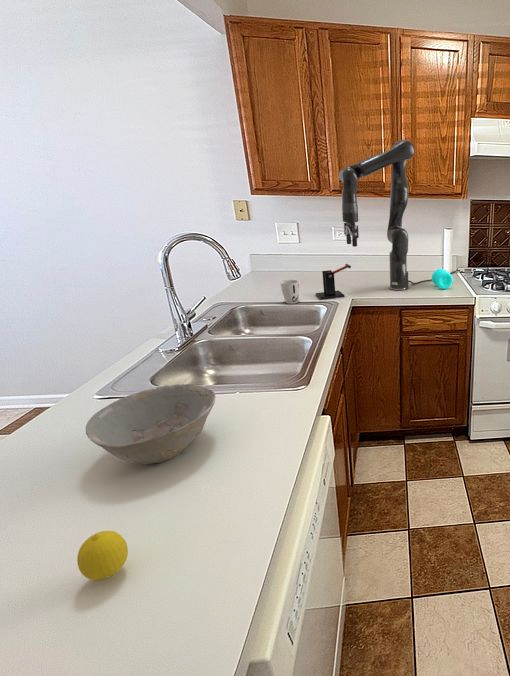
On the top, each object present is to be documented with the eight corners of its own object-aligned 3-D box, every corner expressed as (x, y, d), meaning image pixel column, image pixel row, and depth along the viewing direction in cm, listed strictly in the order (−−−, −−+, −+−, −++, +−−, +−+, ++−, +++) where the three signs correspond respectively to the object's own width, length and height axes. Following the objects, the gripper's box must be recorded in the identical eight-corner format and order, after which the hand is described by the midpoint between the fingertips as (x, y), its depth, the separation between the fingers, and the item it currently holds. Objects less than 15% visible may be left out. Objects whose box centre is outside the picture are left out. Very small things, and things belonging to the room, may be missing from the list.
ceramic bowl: (74, 496, 74) (57, 452, 71) (128, 426, 95) (117, 389, 91) (207, 475, 80) (198, 434, 77) (231, 414, 101) (224, 379, 97)
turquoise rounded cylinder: (436, 290, 219) (436, 272, 215) (431, 285, 227) (431, 268, 224) (453, 289, 222) (453, 271, 218) (447, 284, 231) (447, 267, 227)
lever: (348, 266, 204) (346, 262, 203) (351, 268, 201) (350, 264, 199) (325, 277, 200) (323, 273, 199) (328, 279, 196) (326, 275, 195)
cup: (294, 305, 186) (292, 284, 182) (279, 303, 187) (276, 283, 184) (304, 300, 193) (302, 280, 190) (289, 299, 195) (286, 279, 191)
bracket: (338, 292, 208) (337, 268, 204) (344, 297, 201) (342, 272, 197) (315, 295, 202) (313, 270, 198) (320, 300, 195) (318, 274, 190)
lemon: (82, 577, 59) (65, 537, 57) (126, 552, 64) (113, 513, 61) (92, 600, 56) (75, 559, 54) (138, 572, 60) (125, 532, 58)
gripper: (362, 213, 190) (364, 247, 196) (352, 210, 201) (354, 242, 207) (347, 213, 186) (349, 247, 192) (338, 210, 197) (340, 243, 203)
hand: (351, 245), depth 199 cm, fingers open, 8 cm apart
